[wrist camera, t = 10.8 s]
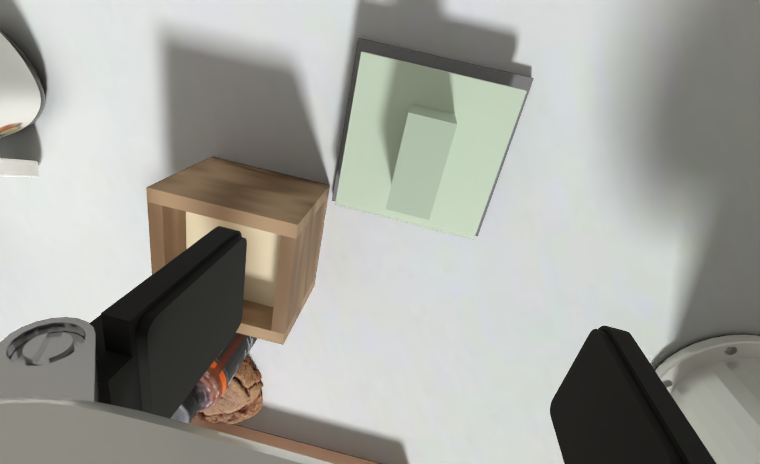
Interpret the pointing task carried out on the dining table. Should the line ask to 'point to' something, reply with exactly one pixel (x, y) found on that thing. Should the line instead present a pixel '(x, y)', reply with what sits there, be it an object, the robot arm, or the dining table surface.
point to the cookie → (237, 398)
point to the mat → (435, 63)
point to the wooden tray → (282, 443)
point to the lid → (425, 144)
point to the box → (246, 233)
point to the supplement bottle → (215, 378)
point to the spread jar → (18, 102)
